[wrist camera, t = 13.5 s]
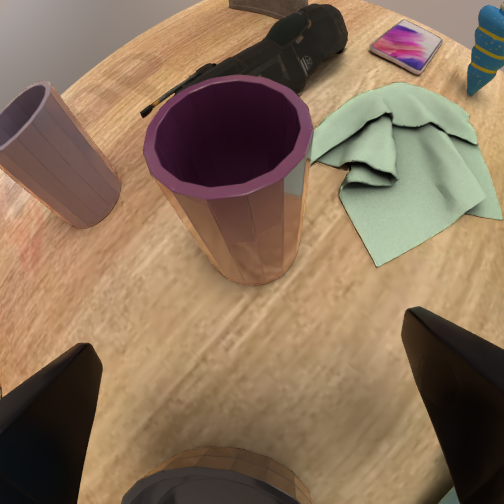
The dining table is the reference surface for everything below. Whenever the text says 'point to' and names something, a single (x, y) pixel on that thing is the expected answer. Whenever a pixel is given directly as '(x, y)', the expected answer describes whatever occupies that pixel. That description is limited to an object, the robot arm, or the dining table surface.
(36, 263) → the dining table surface
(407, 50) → the smartphone
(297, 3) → the flask
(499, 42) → the ornament
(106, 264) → the dining table surface
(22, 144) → the lavender cup
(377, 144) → the cloth
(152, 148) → the plum cup
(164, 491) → the charcoal bowl
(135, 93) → the dining table surface
